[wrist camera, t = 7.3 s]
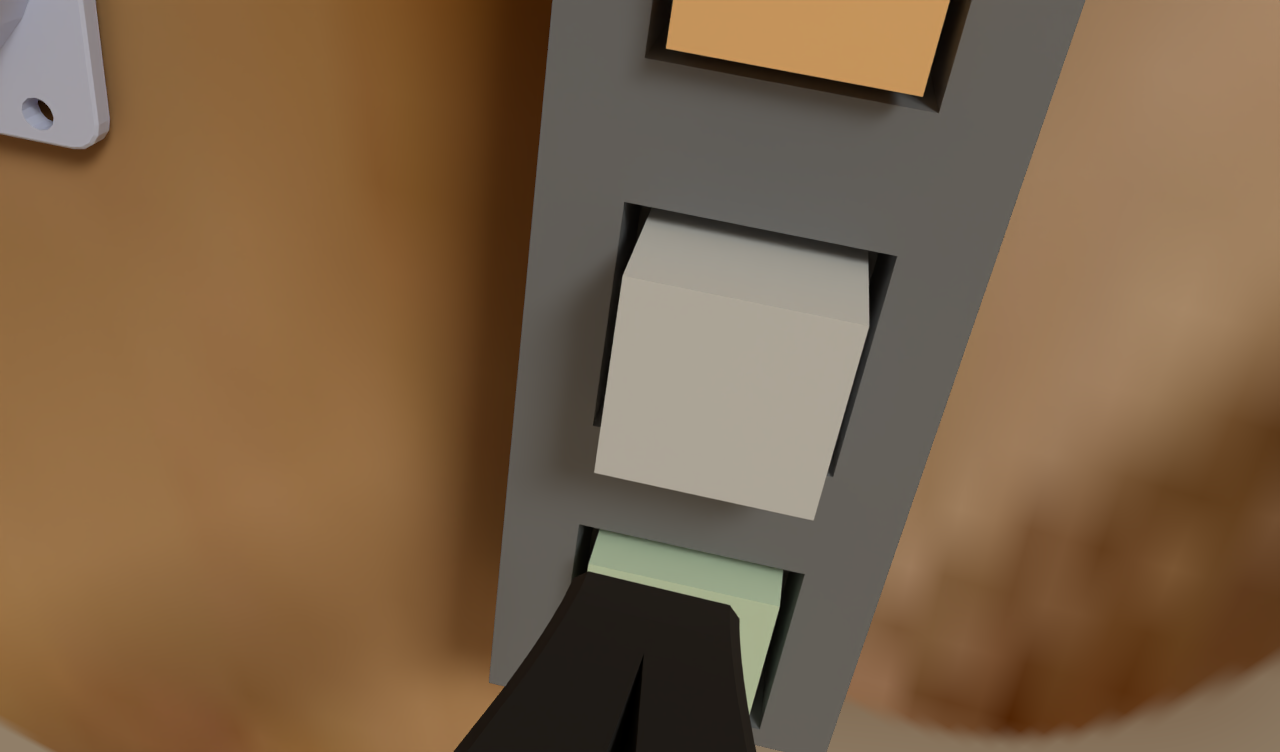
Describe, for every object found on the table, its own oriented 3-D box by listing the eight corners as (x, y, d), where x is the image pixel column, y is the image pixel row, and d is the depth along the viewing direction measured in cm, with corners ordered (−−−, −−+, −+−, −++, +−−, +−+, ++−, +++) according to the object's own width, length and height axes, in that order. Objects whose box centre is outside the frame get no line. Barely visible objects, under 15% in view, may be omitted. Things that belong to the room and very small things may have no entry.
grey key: (625, 382, 17) (594, 473, 15) (654, 201, 15) (622, 275, 13) (819, 422, 17) (813, 520, 15) (868, 243, 15) (869, 326, 13)
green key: (597, 600, 21) (568, 696, 19) (617, 474, 19) (588, 563, 17) (754, 636, 20) (743, 737, 18) (788, 510, 19) (780, 606, 17)
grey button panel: (525, 588, 22) (489, 682, 19) (628, -338, 13) (584, -347, 11) (826, 656, 21) (822, 760, 19) (1121, -257, 13) (1171, -252, 11)
